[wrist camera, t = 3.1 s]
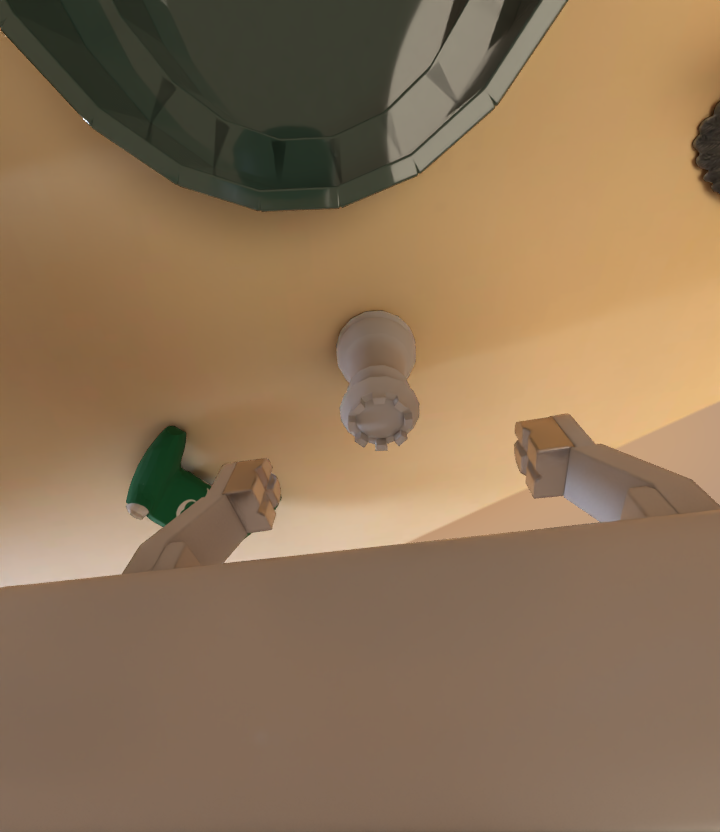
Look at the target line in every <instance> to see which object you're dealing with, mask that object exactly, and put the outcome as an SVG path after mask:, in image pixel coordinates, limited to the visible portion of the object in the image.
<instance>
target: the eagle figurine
mask: <svg viewBox="0 0 720 832" xmlns="http://www.w3.org/2000/svg"><path fill="white" fill-rule="evenodd" d="M699 132H700V134H699V136H698V137H697V138H696V139H695V140H694V142H693V145H694V148H695V149H696V150H697V151H698V152H699V154H700V155H699V156H698V157H697V158H696V164H697V166H699V167H700V168H702V169H706V170H709V171H708V173H706V174H705V175H704V176H703V179H704V181H705V182H712V183H713V185H712V186H711V189H712V190H713V192H717V193H719V194H720V102H719V103H718V104H717V105H716V107H715V110H714V115H713V116H711V117H709V118H707V119H705V120H704V121H703V122H702V123H701V124H700V126H699Z"/></svg>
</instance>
